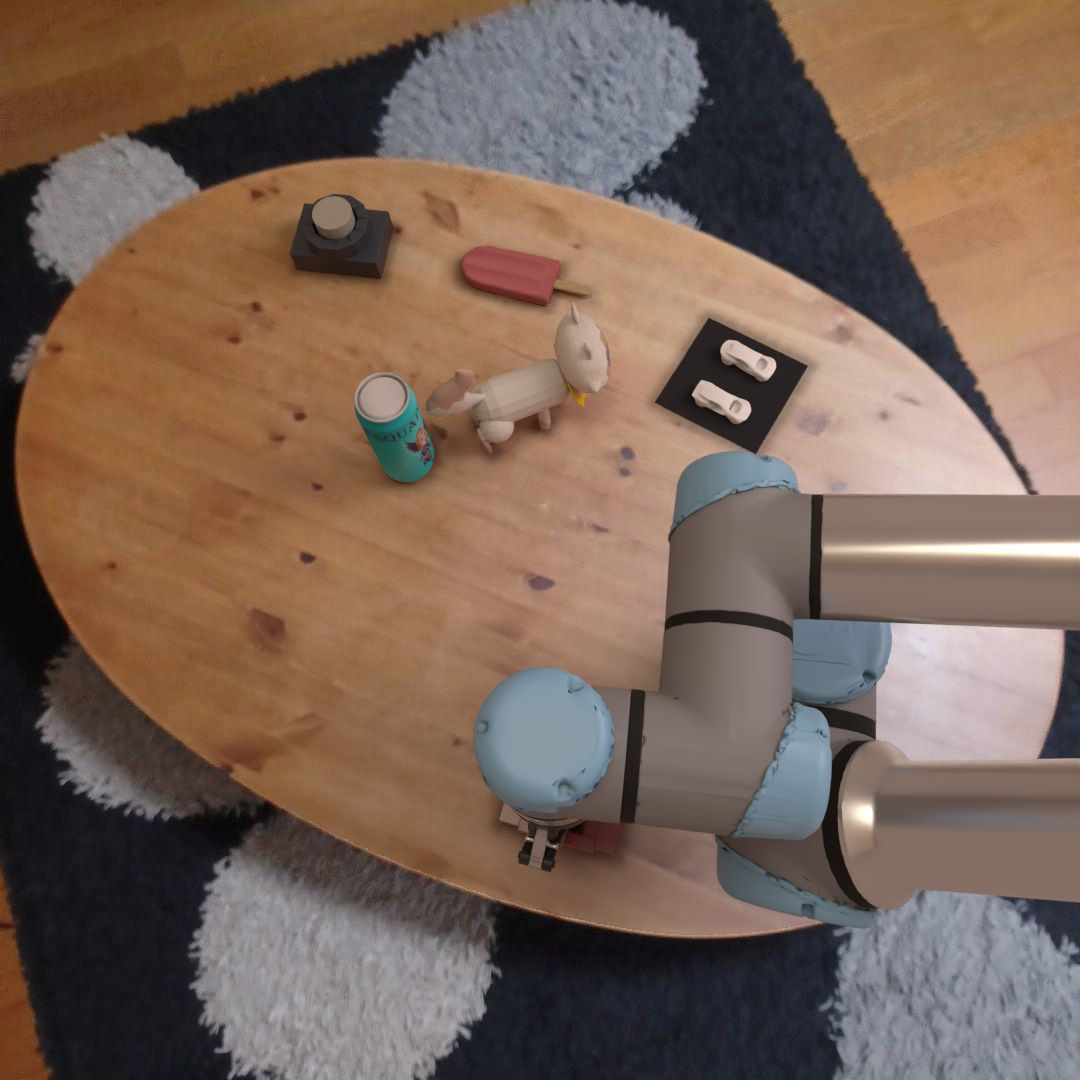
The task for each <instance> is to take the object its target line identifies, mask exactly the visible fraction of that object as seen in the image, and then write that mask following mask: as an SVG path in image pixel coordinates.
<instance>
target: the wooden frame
mask: <svg viewBox="0 0 1080 1080" xmlns="http://www.w3.org/2000/svg"><path fill="white" fill-rule="evenodd" d="M620 815H621V814H620ZM497 820H498V822H499V823H501V824H504V825H508V826H511V827H515V828H517V829H516V830H517V832H518V833H521V834H524V835H527V834H529V831H528V823H527V822H526V821H524V820H523V819H522V818H520V817H519V816H518V815H517V814H516V813H515V812H514V811H513V809H512V808H511V807H510V806H509V805H507V804H505V803H504V802H502V806H501V809H500V812H499V817H498V819H497ZM623 825H624V823H608V822H599V821H591V820H585V821H584V822H583V823H582V827H581V831H577V830H573V829H570V828H568V832H569V834H568V838H566V839H565V842H564V844H563V846H567V847H570V848H574V849H577V850H581V851H583V852H588V853H593V851H594V850H595V851H599V852H602V853H606V854H609V855H612V856H615V855H616V853H617V849H618V845H619V841H620V838H621V834H622V829H623Z"/></svg>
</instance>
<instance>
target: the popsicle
mask: <svg viewBox="0 0 1080 1080" xmlns="http://www.w3.org/2000/svg"><path fill="white" fill-rule="evenodd" d="M560 271H561V261H560V260H558V259H554V258H549V257H545V256H541V255H535V254H531V253H527V252H521V251H517V250H511V249H506V248H502V247H497V246H490V245H483V246H481V245H480V246H476V247H474V248H471V249H470V250H469V251H467V253H466V254H465V255H464V256H463V258H462V261H461V273H462V276H463V278H464V280H465V282H466V283H468V284H469V285H470V286H472V287H473V288H475V289H478V290H481V291H486V292H489V293H493V294H496V295H501V296H504V297H509V298H511V299H516V300H520V301H524V302H529V303H533V304H537V305H541V306H545V307H547V306H548V305H549V304H550V301H551V298H552V295H553V292H554V290H558V291H563V292H568V293H572V294H576V295H580V296H585V297H587V296H590V295H591V293H592V288H591V287H590V285H585V284H581V283H577V282H576V283H575V282H572V281H568V280H567V281H566V280H564V279H563V280H562V279H558V278H559V275H560Z"/></svg>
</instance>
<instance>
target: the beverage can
mask: <svg viewBox="0 0 1080 1080" xmlns="http://www.w3.org/2000/svg"><path fill="white" fill-rule="evenodd" d="M353 403H354V414H355V416H356V419H357V421H358V423H359V424H360V427H361V429H362V430H363V432H364V435H365V437H366V438H367V441H368V442H369V445H370V446H371V448H372V450H373V453H374V454H375V456H376V458H377V460H378V462H379V464H380V467H381V468H382V470H383V471H384V472H383V473H385V475H387V476H388V477H389V478H391V479H392V480H395V481H398V482H401V483H416V482H418V481H420V480H422V479H423V478H425V477H426V476H427V475H428V473H429V472H430V470H431V469H432V466H433V464H434V461H435V457H436V456H435V452H436V451H435V448H434V445H433V443H432V442H433V441H432V440H431V437H430V433H429V431H428V429H427V425H426V423H425V421H424V418H423V415H422V411H421V409H420V407H419V404H418V401H417V398H416V396H415V393H414V391H413V389H412V388H411V386H410V385H409V384H408V383H406V381H405V380H404V379H403V378H402V377H400V376H399V375H397V374H396V373H393V372H387V371H380V372H375V373H371V374H369V375H368V376H367V377H365V378H364V379H363V380H361V381H360V382H359V384H358V385H357V387H356V389H355V391H354V397H353Z"/></svg>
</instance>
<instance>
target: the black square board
mask: <svg viewBox="0 0 1080 1080" xmlns="http://www.w3.org/2000/svg"><path fill="white" fill-rule="evenodd" d="M808 367H809V365H808V364H806V363H803V362H802V361H800V360H798V359H795V358H792V357H791V356H789V355H787V354H785V353H782V352H781V351H779V350H777V349H774V348H773V347H770V346H768V345H766V344H764V343H762V342H760V341H758V340H756V339H754V338H752V337H750V336H748V335H746V334H744V333H742V332H739V331H737V330H735V329H733V328H731V327H729V326H727V325H725V324H723V323H721V322H720V321H717V320H715V319H713V318H711V317H708V319H707V320H706V321H705V323H704V325H703V326H702V327H701V330H700V331H699V333H698V334H697V336H696V337H695V339H694V341H693V342H692V343H691V345H690V346H689V348H688V350H687V351H686V353H685V355H684V356H683V358H682V359H681V361H680V363H678V366H677V367H676V368H675V370H674V372H673V373H672V375H671V377H670V378H669V379H668V381H667V383H666V384H665V386H664V388H663V389H662V391H661V392H660V394H659V395H658V396H657V399H656V400H655V402H654V403H655V404H658V405H660V406H661V407H663V408H664V409H667V410H669V411H671V412H672V413H675V414H677V415H678V416H681V417H683V418H685V419H687V420H689V421H691V422H693V423H695V424H697V425H698V426H701V427H702V428H704V429H707V430H708V431H710V432H712V433H714V434H716V435H718V436H720V437H721V438H724V439H726V440H728V441H729V442H732V443H733V444H735V445H738V446H739V447H741V448H743V449H745V450H746V451H750V452H752V453H753V454H754V455H757V453H758V451H759V449H760V448H761V446H762V444H763V443H764V441H765V440H766V438H767V436H768V434H769V433H770V431H771V429H772V428H773V426H774V424H775V423H776V421H777V419H778V417H779V416H780V414H781V413H782V411H783V409H784V408H785V406H786V404H787V402H788V401H789V399H790V398H791V396H792V394H793V392H794V390H795V389H796V387H797V385H798V384H799V382H800V380H801V379H802V377H803V376H804V374H805V372H806V371H807V368H808Z"/></svg>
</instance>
